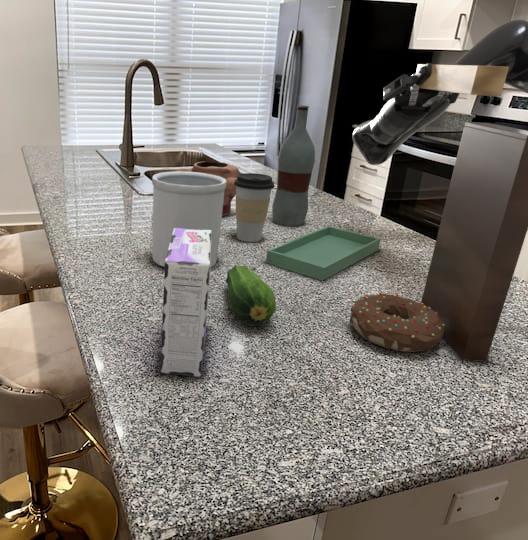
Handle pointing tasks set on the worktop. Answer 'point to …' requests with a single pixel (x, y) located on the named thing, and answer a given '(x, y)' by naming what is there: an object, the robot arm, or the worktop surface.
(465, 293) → the walnut stand
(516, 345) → the worktop surface
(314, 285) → the worktop surface
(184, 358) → the candy box
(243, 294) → the vegetable
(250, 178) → the coffee cup
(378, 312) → the donut
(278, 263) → the tray
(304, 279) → the worktop surface
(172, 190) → the utensil holder
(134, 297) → the worktop surface
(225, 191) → the decorative planter
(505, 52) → the robot arm
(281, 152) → the vodka
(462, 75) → the beech stick
